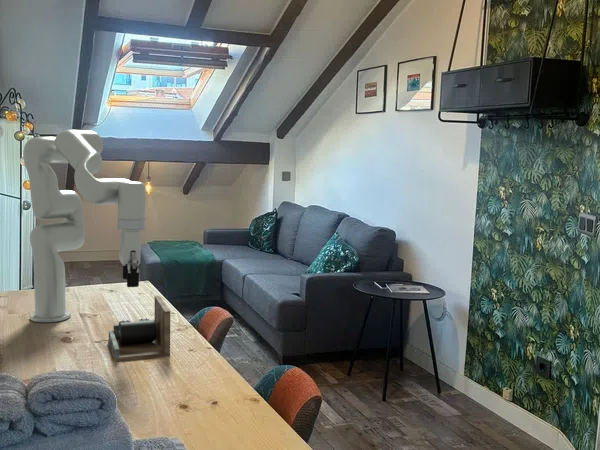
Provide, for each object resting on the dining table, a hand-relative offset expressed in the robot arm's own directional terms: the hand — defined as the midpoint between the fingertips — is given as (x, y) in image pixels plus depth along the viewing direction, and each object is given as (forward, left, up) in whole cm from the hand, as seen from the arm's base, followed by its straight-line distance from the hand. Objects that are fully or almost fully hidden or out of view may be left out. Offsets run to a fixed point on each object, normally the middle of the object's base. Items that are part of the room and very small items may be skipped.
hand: (130, 282), depth 178 cm
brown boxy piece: (+3, +1, -19) cm, 19 cm away
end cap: (+2, +2, -18) cm, 18 cm away
